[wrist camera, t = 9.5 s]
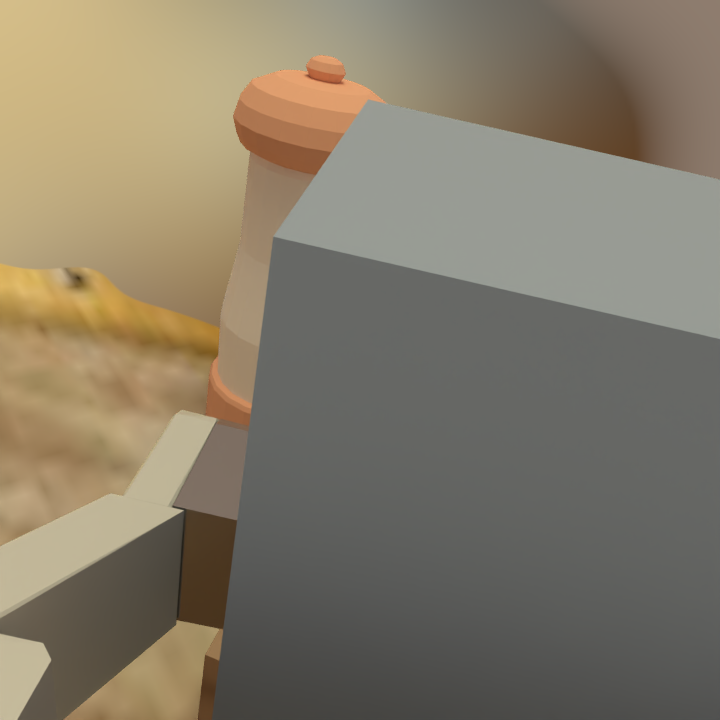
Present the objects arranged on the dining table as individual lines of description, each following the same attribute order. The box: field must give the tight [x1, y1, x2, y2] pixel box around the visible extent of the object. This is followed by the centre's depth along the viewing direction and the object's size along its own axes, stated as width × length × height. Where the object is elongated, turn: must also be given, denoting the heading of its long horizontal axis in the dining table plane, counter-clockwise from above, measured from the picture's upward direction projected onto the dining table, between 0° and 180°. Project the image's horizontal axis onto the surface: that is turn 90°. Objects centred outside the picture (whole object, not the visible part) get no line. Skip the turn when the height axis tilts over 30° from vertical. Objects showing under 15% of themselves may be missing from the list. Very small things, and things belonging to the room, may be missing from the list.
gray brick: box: [212, 100, 720, 720], centre depth 8 cm, size 4×4×10 cm
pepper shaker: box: [206, 55, 387, 426], centre depth 31 cm, size 7×7×19 cm
